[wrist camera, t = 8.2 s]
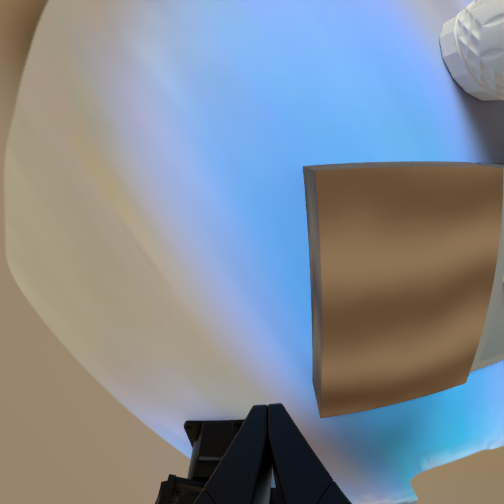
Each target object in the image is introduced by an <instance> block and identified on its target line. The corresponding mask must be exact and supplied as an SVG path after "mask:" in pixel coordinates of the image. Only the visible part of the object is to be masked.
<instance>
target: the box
mask: <svg viewBox="0 0 504 504" xmlns="http://www.w3.org/2000/svg"><path fill="white" fill-rule="evenodd" d="M477 164H481V165H487V166H493V167H498V168H503V206H502V221H501V232H500V242H499V250H498V257H497V264H496V270H495V276H494V282H493V287H492V292H491V297H490V302H489V306H488V311H487V315H486V319H485V323H484V327H483V331H482V334H481V338H480V341H479V345H478V348H477V351H476V355H475V358H474V361H473V364H472V367H471V370H470V372H472V371H475V370H478V369H480V368H483V367H486V366H488V365H491V364H494V363H496V362H499V361H501V360H504V282H503V277H504V164H492V163H477Z"/></svg>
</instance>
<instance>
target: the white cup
mask: <svg viewBox="0 0 504 504" xmlns="http://www.w3.org/2000/svg"><path fill="white" fill-rule="evenodd" d="M439 41H440V46H441V52H442V57H443V60H444V62H445V63H446V65H447V67H448V69H449V71H450V73H451V75H452V77H453V78H454V80H455V81H456V82H457V83H458V84H459V85H460V86H461V87H462V88H463V90H464V91H465V92H466V93H468V94H470V95H472V96H474V97H476V98H477V99H479V100H481V101H489V100H503V101H504V0H474V1H473V2H472V3H470V4H469V5H467V6H466V7H465V8H464V9H463V11H461V12H460V13H459V14H457V15H456V16H454V17H453V18H451V19H450V20H448V21H447V22H445V23H444V24H443V27H442V30H441V34H440V38H439Z"/></svg>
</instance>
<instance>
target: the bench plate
mask: <svg viewBox="0 0 504 504" xmlns="http://www.w3.org/2000/svg"><path fill="white" fill-rule="evenodd" d="M303 173H304V185H305V197H306V210H307V224H308V240H309V258H310V278H311V304H312V347H313V385H314V390H315V395H316V399H317V404H318V409H319V414H320V418H325V417H331V416H338V415H343V414H349V413H355V412H360V411H365V410H370V409H375V408H379V407H384V406H388V405H392V404H396V403H401V402H404V401H408V400H412V399H416V398H419V397H423V396H426V395H430V394H433V393H437V392H440V391H443V390H446V389H449V388H452V387H455V386H458V385H461V384H464V383H466V381H467V378H468V376H469V373H470V370H471V367H472V364H473V361H474V358H475V355H476V351H477V348H478V345H479V341H480V338H481V334H482V331H483V327H484V323H485V319H486V315H487V311H488V306H489V302H490V297H491V292H492V287H493V282H494V276H495V270H496V264H497V257H498V250H499V242H500V232H501V221H502V206H503V168H498V167H493V166H487V165H481V164H475V163H468V162H370V163H347V164H329V165H314V166H303Z"/></svg>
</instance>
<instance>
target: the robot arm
mask: <svg viewBox="0 0 504 504" xmlns="http://www.w3.org/2000/svg"><path fill="white" fill-rule="evenodd" d="M184 428H185V431H186V433H187V436H188V438H189V440H190V443H191V445H192V447H193V451H192V456H191V462H190V467H189V472H188V478H187V479H186V478H181V477H176V475H171V474H169V477H168V480H167V481H164V482H161V486H160V490H159V494H158V498H157V500H156V502H155V504H352V503H351V502H350V501H349V500H348V498H347V497H346V496H345V495H344V493H343V492H342V491H341V490H340V488H339V487H338V485H337V484H336V483H335V482H334V481H333V479H332V477H331V476H330V474H329V473H328V472H327V470H326V469H325V467H324V466H323V464H322V463H321V462H320V460H319V459H318V457H317V456H316V454H315V453H314V451H313V450H312V448H311V447H310V446H309V444H308V443H307V441H306V440H305V438H304V437H303V435H302V434H301V432H300V431H299V429H298V428H297V426H296V425H295V423H294V422H293V420H292V419H291V417H290V415H289V414H288V412H287V411H286V409H285V408H284V406H283V405H282V404H281V403H277V404H269V405H268V407H267V405H254V406H253V407H252V408H251V410H250V412H249V414H248V415H247V417H246V419H245V420H229V421H186V422H185V423H184ZM272 467H273V474H274V479H275V484H276V488H271V478H272Z"/></svg>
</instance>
